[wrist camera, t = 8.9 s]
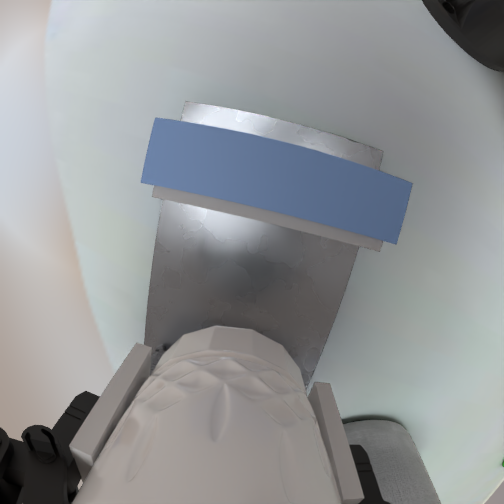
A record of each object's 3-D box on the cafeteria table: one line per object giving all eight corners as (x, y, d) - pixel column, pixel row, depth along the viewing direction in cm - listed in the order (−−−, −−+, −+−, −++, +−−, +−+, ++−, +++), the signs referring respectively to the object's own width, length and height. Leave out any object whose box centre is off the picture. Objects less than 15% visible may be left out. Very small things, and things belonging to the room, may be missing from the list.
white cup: (165, 285, 12) (13, 492, 2) (341, 339, 12) (431, 549, 3) (140, 410, 14) (76, 561, 4) (276, 447, 14) (284, 603, 4)
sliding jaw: (190, 137, 18) (155, 117, 12) (363, 180, 19) (412, 183, 12) (178, 189, 19) (138, 195, 12) (350, 230, 20) (392, 256, 13)
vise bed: (188, 104, 19) (185, 101, 18) (377, 152, 19) (383, 151, 18) (146, 366, 24) (142, 373, 23) (296, 400, 25) (297, 407, 24)
